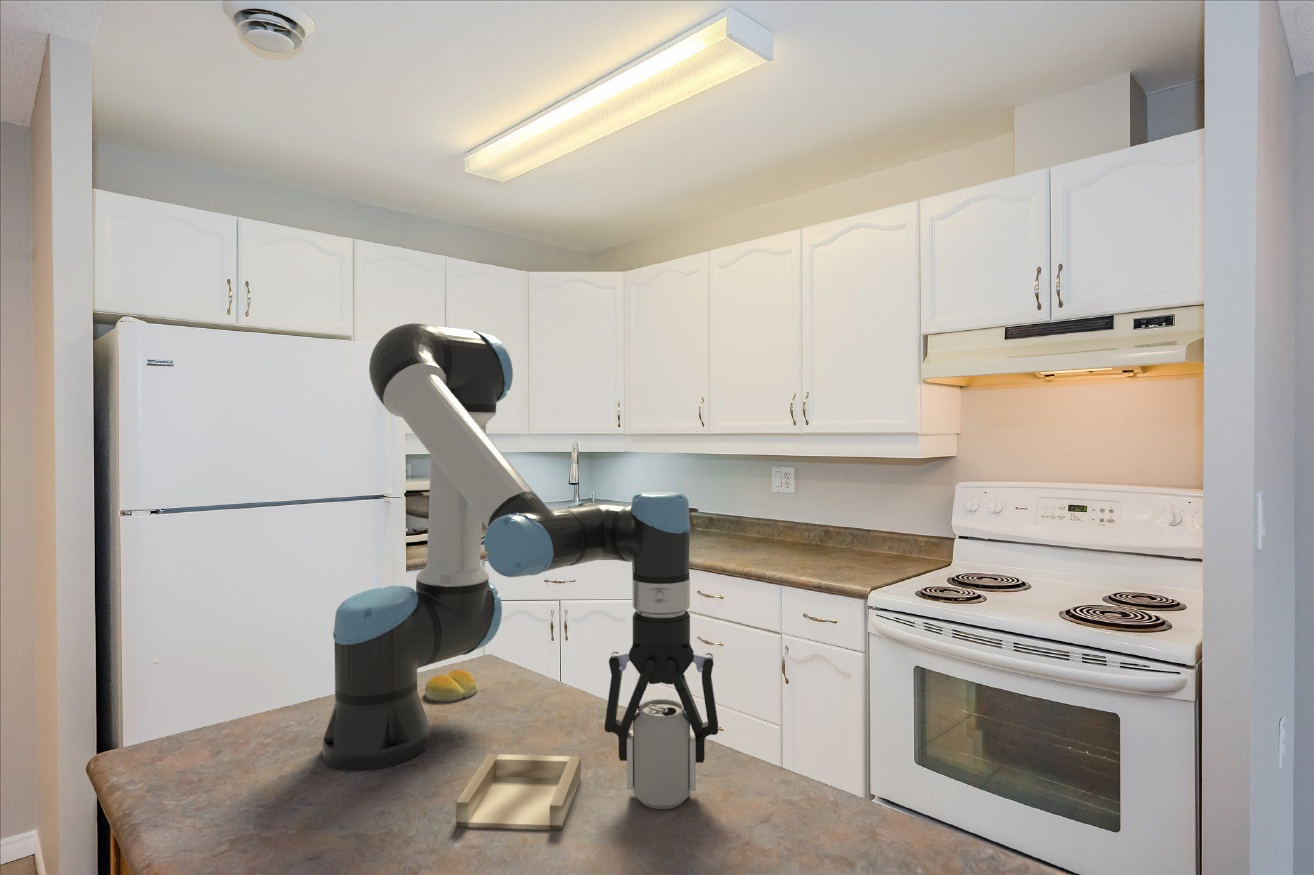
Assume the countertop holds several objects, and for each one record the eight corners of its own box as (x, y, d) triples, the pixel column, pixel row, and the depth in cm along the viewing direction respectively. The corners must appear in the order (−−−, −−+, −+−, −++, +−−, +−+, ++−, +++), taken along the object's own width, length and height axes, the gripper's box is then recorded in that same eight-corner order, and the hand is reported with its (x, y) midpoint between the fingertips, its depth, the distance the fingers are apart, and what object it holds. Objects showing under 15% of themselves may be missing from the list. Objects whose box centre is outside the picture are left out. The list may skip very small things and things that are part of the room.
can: (685, 815, 89) (685, 719, 89) (627, 809, 91) (626, 715, 91) (694, 786, 97) (694, 697, 97) (640, 780, 98) (640, 693, 98)
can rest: (456, 826, 87) (456, 802, 87) (488, 775, 100) (488, 753, 100) (562, 830, 86) (561, 805, 86) (580, 778, 99) (580, 756, 99)
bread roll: (417, 695, 131) (417, 673, 131) (462, 683, 137) (462, 662, 137) (438, 707, 125) (438, 685, 125) (484, 694, 131) (484, 673, 131)
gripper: (579, 617, 91) (580, 797, 91) (740, 619, 89) (741, 802, 89) (588, 602, 98) (589, 769, 98) (738, 604, 97) (738, 773, 97)
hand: (661, 784), depth 94 cm, fingers closed on can, 7 cm apart
